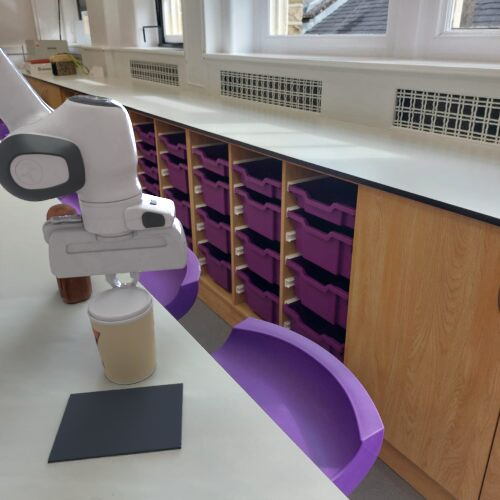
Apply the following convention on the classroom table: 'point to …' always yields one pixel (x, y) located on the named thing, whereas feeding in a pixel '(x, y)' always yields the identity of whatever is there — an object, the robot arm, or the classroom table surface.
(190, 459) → the classroom table surface
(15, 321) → the classroom table surface
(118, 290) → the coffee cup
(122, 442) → the rubber mat
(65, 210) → the wooden figurine
